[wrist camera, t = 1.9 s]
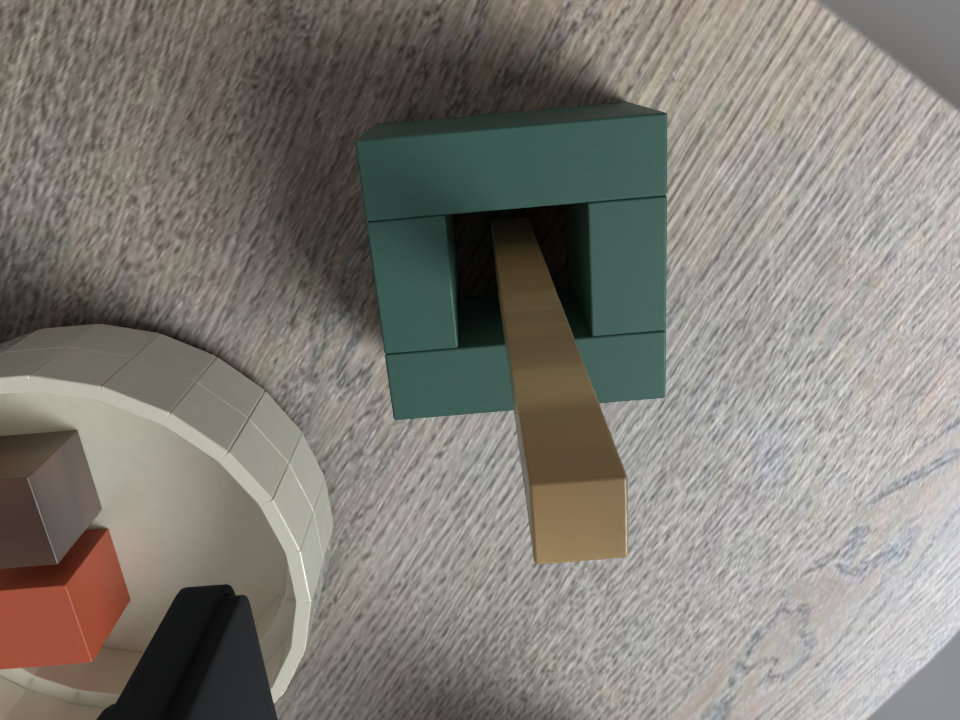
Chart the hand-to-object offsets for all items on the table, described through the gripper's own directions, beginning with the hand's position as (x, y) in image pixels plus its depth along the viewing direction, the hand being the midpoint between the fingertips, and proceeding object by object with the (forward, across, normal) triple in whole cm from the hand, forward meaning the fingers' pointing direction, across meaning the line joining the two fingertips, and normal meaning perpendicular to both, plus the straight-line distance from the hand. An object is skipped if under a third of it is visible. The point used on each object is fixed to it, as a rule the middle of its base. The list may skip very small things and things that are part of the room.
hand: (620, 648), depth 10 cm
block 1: (+22, +21, +8) cm, 32 cm away
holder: (+22, 0, 0) cm, 23 cm away
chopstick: (+22, 0, 0) cm, 23 cm away
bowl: (+22, +18, +10) cm, 31 cm away
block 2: (+22, +21, +13) cm, 33 cm away
